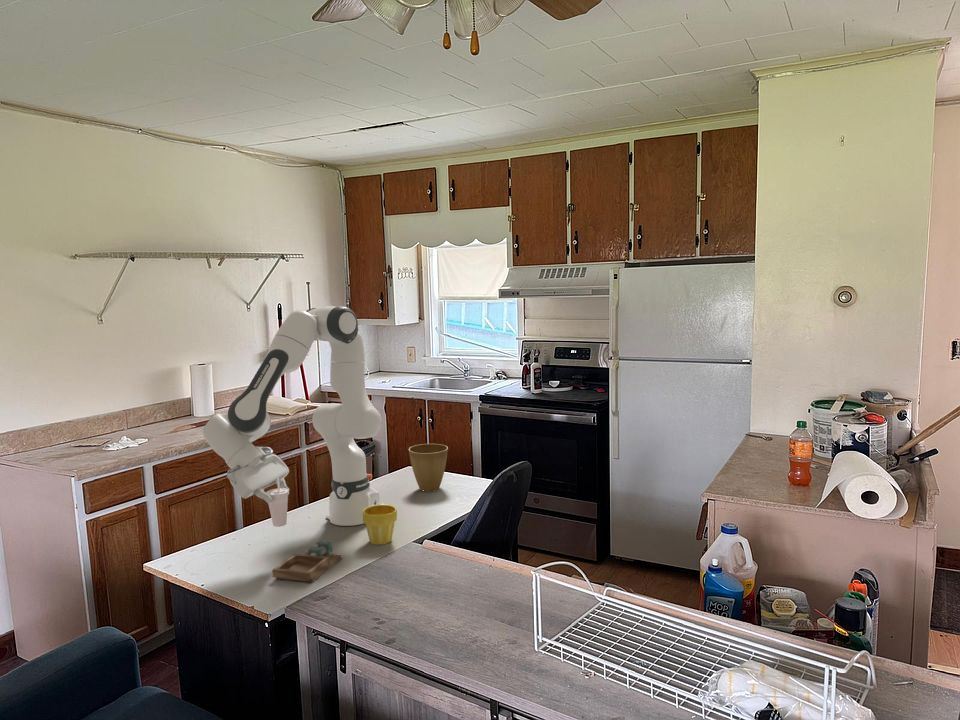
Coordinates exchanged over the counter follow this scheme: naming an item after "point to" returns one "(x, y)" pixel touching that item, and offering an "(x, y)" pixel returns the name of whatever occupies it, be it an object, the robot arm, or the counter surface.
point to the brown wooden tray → (307, 563)
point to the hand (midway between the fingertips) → (279, 496)
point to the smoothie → (279, 505)
